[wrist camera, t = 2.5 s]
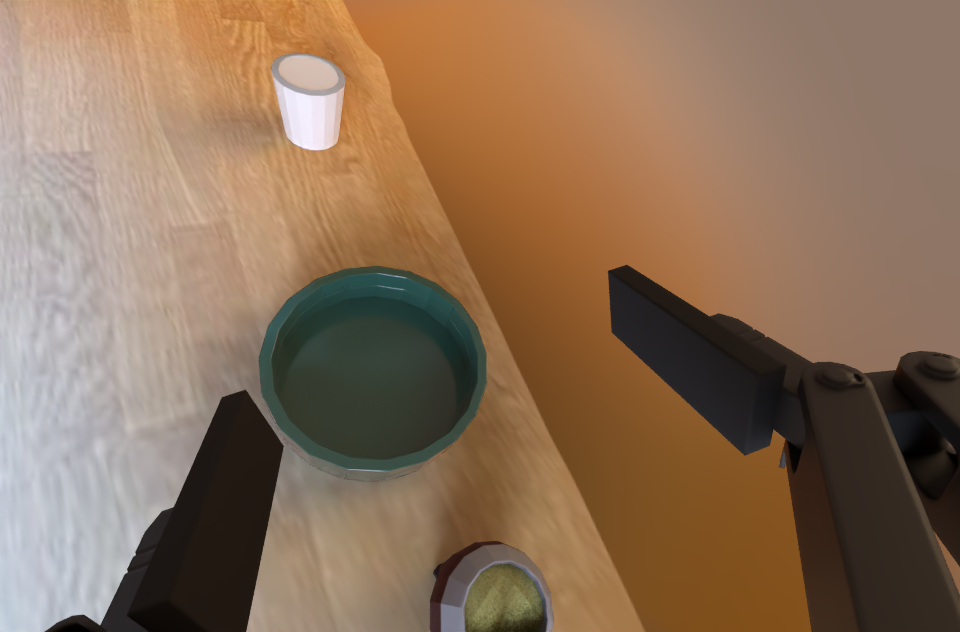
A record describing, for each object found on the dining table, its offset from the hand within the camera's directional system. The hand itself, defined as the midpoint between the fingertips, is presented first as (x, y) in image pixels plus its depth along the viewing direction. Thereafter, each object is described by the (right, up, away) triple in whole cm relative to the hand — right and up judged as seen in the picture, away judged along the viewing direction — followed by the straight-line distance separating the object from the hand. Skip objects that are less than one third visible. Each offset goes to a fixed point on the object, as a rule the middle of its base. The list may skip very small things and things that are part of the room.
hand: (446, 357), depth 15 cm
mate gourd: (0, -19, +14) cm, 23 cm away
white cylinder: (-18, +22, +32) cm, 43 cm away
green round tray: (-7, -4, +20) cm, 22 cm away
